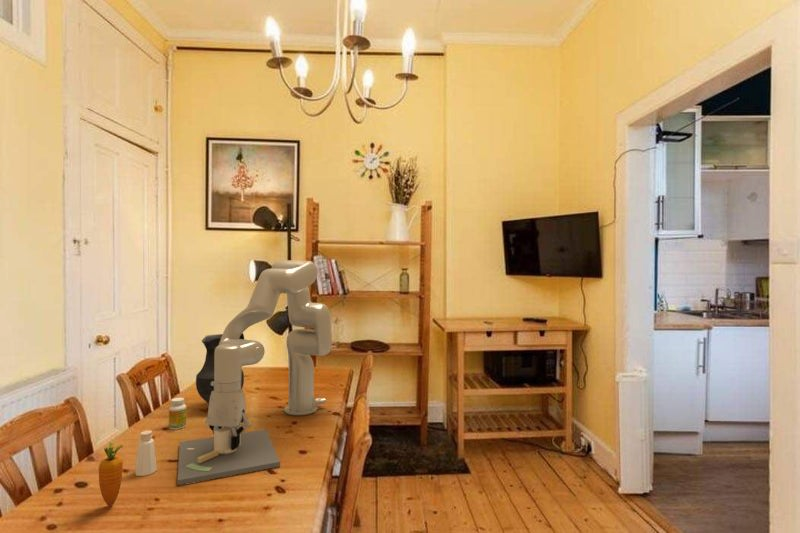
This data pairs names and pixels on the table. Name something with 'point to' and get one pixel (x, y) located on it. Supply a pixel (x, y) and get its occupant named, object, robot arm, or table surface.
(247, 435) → the dial board
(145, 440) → the pepper shaker
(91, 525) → the table surface
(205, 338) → the pitcher
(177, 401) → the supplement bottle
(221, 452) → the cream handled block
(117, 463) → the carrot
